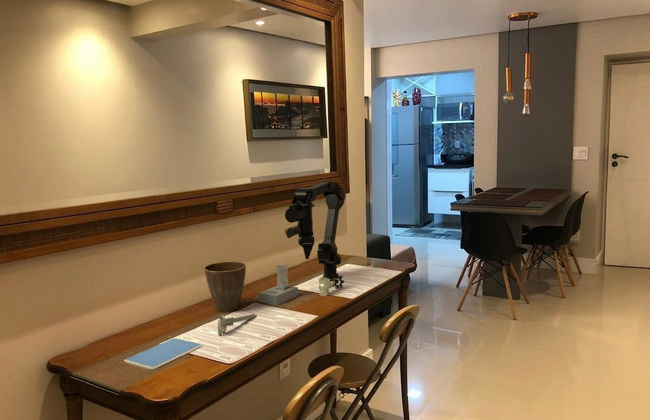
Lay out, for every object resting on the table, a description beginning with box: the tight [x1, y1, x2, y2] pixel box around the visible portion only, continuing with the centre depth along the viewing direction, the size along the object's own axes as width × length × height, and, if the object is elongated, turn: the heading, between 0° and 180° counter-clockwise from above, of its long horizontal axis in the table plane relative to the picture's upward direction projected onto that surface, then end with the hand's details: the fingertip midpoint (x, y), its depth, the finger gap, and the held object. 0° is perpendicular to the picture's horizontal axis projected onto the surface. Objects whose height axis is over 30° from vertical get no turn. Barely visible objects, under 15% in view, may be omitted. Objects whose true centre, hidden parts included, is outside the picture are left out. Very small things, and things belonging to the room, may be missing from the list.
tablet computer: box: [123, 337, 203, 371], centre depth 155 cm, size 19×13×1 cm, turn 149°
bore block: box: [257, 284, 299, 306], centre depth 205 cm, size 13×9×4 cm
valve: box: [318, 272, 345, 297], centre depth 211 cm, size 7×7×12 cm
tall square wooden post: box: [276, 262, 289, 290], centre depth 207 cm, size 3×3×13 cm
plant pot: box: [203, 261, 247, 313], centre depth 194 cm, size 15×15×16 cm
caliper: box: [217, 313, 258, 336], centre depth 177 cm, size 20×1×6 cm, turn 153°
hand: (307, 256), depth 218 cm, fingers open, 9 cm apart
